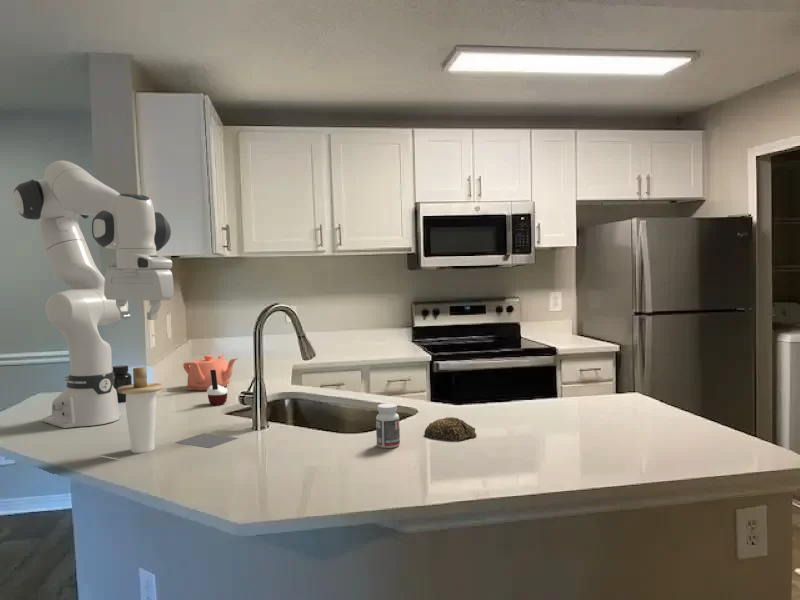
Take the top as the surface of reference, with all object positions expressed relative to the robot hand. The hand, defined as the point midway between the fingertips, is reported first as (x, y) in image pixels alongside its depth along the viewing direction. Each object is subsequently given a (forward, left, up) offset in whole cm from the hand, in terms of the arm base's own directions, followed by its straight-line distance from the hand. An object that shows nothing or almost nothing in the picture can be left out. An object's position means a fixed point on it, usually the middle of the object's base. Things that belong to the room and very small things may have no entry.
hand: (138, 319), depth 149 cm
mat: (+8, +13, -32) cm, 36 cm away
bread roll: (+62, +45, -33) cm, 83 cm away
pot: (-47, +71, -32) cm, 91 cm away
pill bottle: (+52, +29, -32) cm, 68 cm away
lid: (0, 0, -17) cm, 17 cm away
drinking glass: (0, 0, -32) cm, 32 cm away
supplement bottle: (-58, +40, -32) cm, 78 cm away
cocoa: (-23, +49, -32) cm, 63 cm away
